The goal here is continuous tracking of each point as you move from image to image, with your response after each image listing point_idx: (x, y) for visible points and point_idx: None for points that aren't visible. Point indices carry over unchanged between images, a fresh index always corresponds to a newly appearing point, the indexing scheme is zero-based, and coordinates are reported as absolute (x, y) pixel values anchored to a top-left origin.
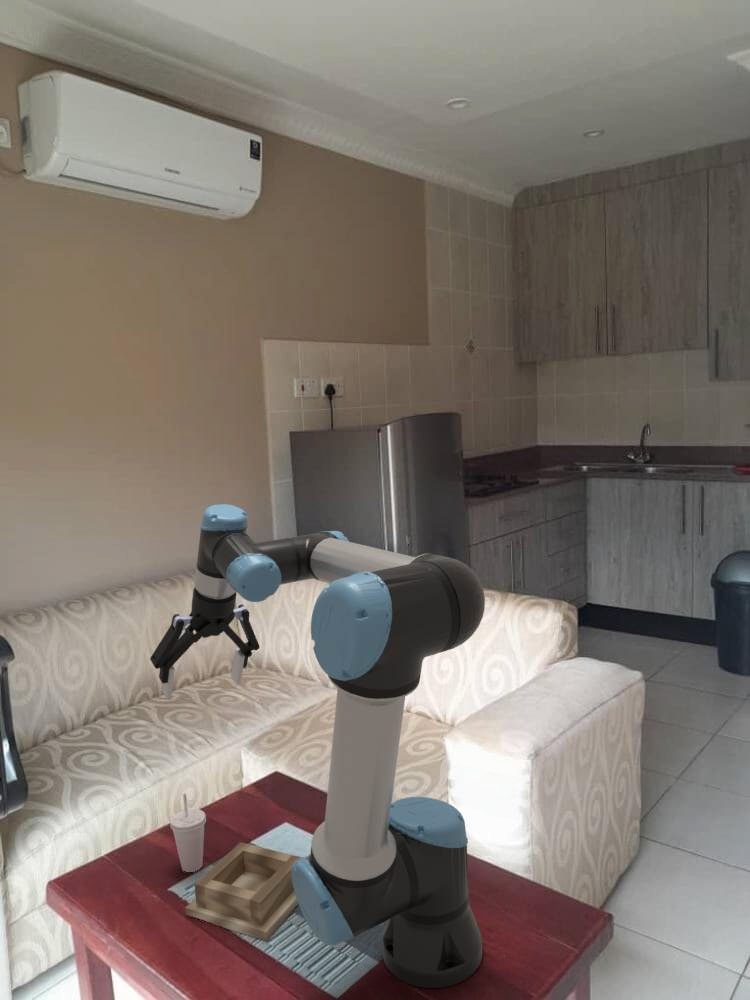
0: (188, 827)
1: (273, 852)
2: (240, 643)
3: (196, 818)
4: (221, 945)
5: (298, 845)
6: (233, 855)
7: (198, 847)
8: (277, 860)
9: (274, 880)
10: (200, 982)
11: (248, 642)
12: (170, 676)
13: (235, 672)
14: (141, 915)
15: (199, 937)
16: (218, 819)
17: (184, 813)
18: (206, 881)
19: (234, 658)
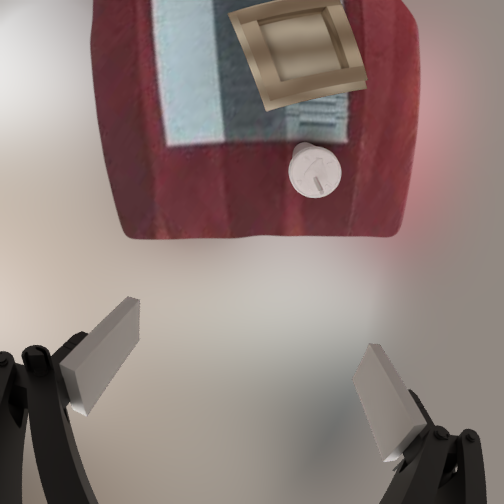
0: (330, 153)
1: (254, 47)
2: (44, 434)
3: (308, 162)
4: (365, 26)
5: (187, 91)
6: (297, 83)
7: (309, 145)
8: (261, 32)
9: (295, 4)
10: (403, 14)
11: (25, 405)
12: (412, 403)
13: (123, 338)
14: (388, 130)
15: (373, 52)
16: (223, 211)
17: (312, 186)
18: (355, 70)
19: (104, 384)
